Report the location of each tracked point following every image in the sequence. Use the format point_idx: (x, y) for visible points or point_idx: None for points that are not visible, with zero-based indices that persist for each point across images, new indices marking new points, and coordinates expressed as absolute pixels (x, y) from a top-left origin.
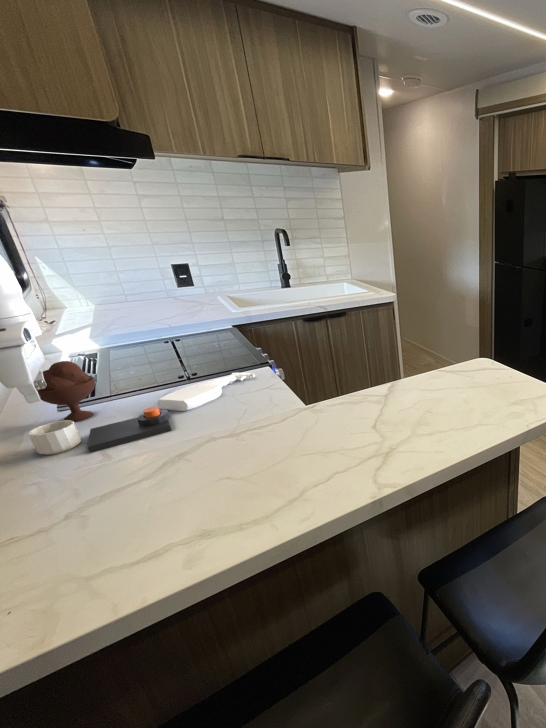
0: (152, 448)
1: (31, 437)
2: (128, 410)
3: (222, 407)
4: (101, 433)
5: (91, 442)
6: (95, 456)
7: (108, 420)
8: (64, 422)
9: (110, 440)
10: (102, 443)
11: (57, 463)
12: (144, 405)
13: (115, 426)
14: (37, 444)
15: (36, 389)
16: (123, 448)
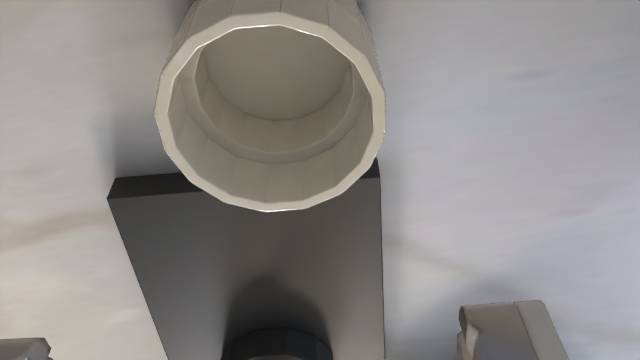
0: None
1: (191, 29)
2: (616, 250)
3: None
4: (261, 224)
5: (156, 204)
6: (53, 198)
7: (539, 192)
8: (358, 156)
9: (134, 261)
10: (122, 237)
11: (48, 73)
12: (623, 295)
13: (321, 261)
14: (186, 22)
15: (461, 312)
16: (89, 271)
